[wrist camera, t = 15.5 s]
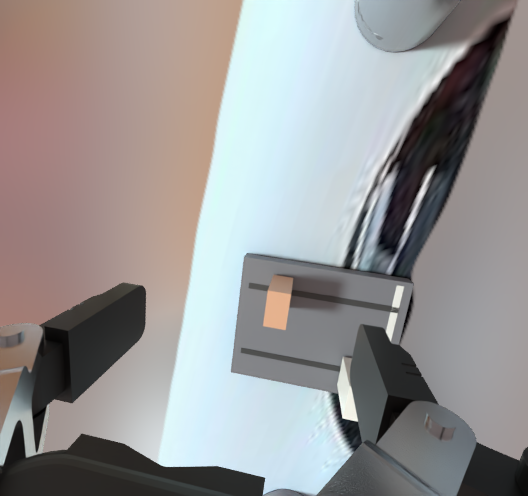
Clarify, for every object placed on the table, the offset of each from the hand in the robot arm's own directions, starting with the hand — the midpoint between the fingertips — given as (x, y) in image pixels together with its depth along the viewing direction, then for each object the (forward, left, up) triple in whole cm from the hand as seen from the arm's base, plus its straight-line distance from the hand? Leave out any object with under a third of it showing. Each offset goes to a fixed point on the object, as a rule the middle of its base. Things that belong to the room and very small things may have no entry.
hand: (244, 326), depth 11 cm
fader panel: (+5, +12, -27) cm, 30 cm away
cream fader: (+4, +19, -24) cm, 31 cm away
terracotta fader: (+5, +6, -24) cm, 25 cm away
